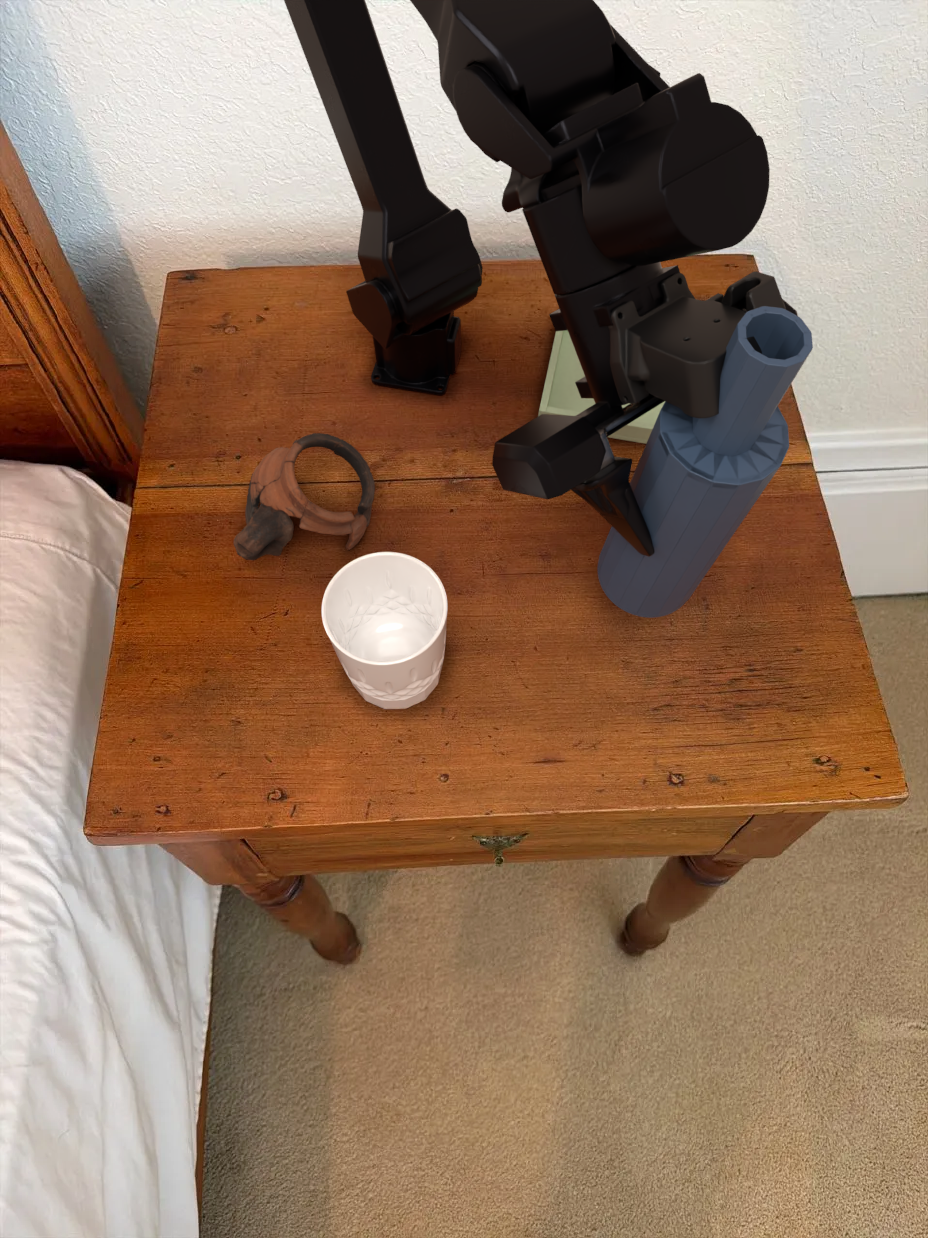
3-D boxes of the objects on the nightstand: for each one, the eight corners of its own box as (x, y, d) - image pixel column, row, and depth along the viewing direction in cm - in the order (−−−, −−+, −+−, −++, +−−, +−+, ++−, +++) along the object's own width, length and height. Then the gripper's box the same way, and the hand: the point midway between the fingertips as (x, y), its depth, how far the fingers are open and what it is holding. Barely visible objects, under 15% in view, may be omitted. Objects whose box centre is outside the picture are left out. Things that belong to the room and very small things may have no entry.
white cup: (437, 728, 62) (432, 675, 53) (329, 706, 63) (306, 651, 54) (460, 628, 65) (459, 562, 56) (357, 609, 66) (339, 541, 57)
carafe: (595, 612, 60) (701, 387, 38) (598, 526, 63) (699, 270, 41) (694, 623, 60) (856, 405, 38) (693, 536, 63) (843, 286, 41)
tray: (537, 425, 73) (538, 410, 72) (558, 325, 78) (560, 308, 76) (696, 452, 72) (702, 437, 70) (708, 348, 77) (713, 332, 75)
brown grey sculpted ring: (278, 454, 73) (316, 399, 66) (364, 532, 74) (409, 485, 68) (184, 543, 66) (216, 491, 59) (282, 627, 67) (324, 585, 61)
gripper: (541, 345, 38) (658, 640, 44) (848, 169, 42) (913, 458, 49) (438, 354, 47) (545, 594, 54) (696, 210, 52) (767, 446, 58)
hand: (692, 524), depth 53 cm, fingers closed on carafe, 7 cm apart
